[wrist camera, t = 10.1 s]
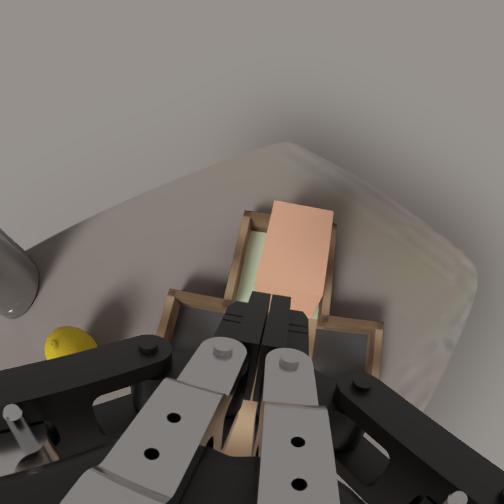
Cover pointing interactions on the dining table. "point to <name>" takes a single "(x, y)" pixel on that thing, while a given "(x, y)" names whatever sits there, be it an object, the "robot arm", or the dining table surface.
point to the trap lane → (320, 330)
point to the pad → (253, 268)
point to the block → (296, 255)
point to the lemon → (67, 342)
